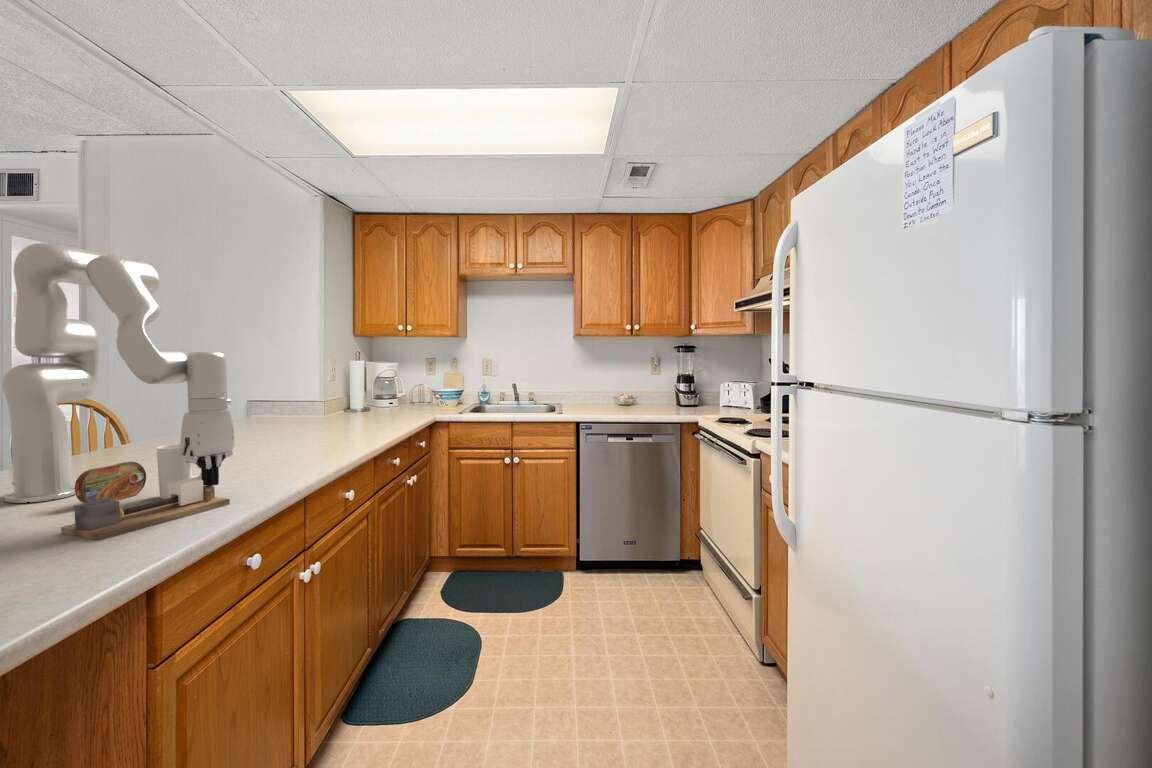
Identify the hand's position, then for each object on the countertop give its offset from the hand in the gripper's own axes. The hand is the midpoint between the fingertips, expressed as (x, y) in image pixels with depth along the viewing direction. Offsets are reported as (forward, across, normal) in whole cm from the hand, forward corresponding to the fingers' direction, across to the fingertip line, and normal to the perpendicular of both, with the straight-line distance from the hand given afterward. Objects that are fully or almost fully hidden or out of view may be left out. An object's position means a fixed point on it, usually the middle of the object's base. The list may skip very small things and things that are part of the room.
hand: (210, 484), depth 128 cm
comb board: (+4, +13, 0) cm, 13 cm away
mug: (+4, -2, -12) cm, 13 cm away
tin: (+4, +7, -23) cm, 24 cm away
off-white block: (+3, +6, 0) cm, 6 cm away
